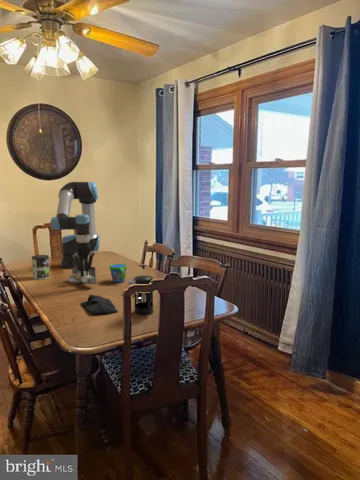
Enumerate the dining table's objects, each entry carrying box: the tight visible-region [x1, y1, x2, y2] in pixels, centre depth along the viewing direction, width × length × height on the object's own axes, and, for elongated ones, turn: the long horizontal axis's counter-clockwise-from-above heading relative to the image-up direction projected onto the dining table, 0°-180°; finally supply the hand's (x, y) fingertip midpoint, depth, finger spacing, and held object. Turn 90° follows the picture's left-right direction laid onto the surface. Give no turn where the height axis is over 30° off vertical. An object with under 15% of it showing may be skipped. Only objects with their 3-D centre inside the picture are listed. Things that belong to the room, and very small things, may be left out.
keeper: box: [71, 266, 97, 279], centre depth 230 cm, size 14×3×9 cm, turn 126°
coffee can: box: [31, 254, 50, 280], centre depth 241 cm, size 10×10×14 cm
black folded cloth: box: [80, 294, 118, 315], centre depth 185 cm, size 15×22×5 cm
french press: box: [133, 264, 154, 316], centre depth 177 cm, size 12×9×23 cm
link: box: [71, 266, 98, 285], centre depth 226 cm, size 25×6×6 cm, turn 39°
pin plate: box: [68, 275, 84, 284], centre depth 234 cm, size 11×11×2 cm
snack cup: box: [108, 263, 128, 284], centre depth 234 cm, size 16×10×10 cm
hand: (84, 281), depth 218 cm, fingers closed
